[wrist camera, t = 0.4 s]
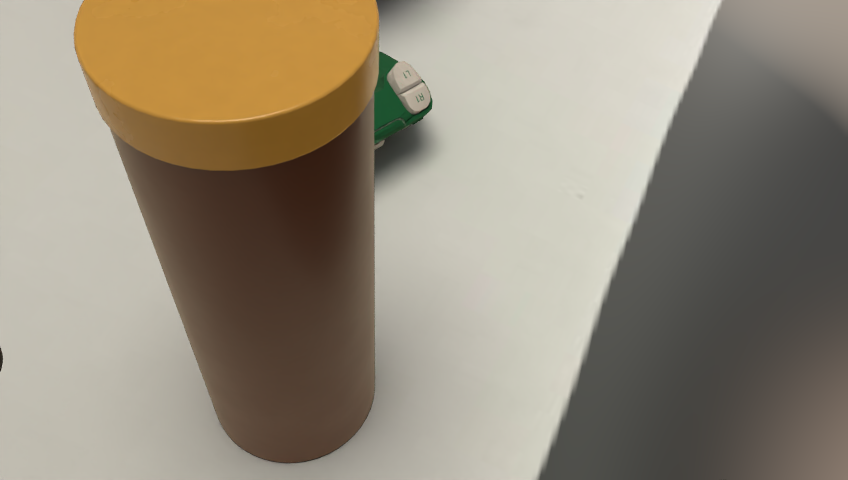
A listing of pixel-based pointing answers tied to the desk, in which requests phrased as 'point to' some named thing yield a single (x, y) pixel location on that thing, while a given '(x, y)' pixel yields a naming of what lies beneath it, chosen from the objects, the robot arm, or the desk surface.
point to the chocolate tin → (254, 196)
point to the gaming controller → (398, 98)
